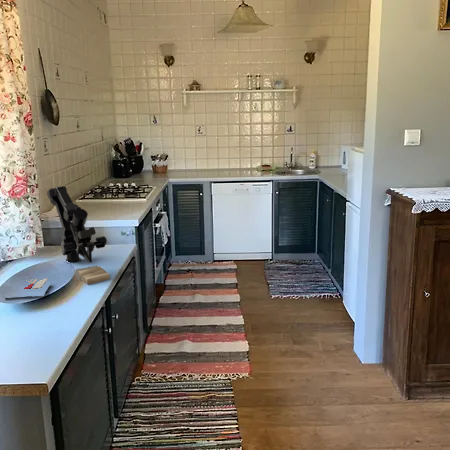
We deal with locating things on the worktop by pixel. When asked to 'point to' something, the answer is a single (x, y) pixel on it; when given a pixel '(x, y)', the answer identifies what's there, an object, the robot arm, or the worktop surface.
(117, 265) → the worktop surface
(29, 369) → the worktop surface
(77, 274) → the rubber mat
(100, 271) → the birch tile
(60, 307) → the worktop surface
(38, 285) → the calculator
